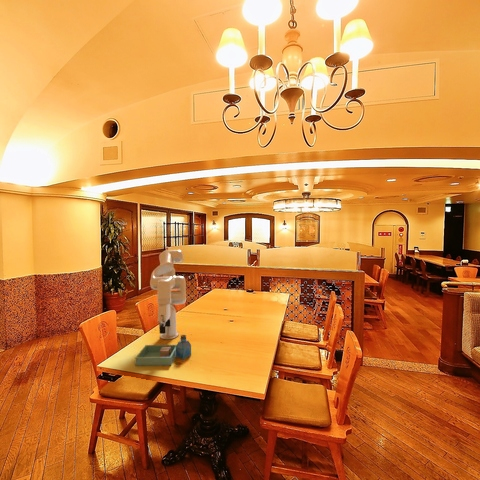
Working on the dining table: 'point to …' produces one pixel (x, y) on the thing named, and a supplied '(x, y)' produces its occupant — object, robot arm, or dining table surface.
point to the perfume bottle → (183, 348)
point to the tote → (155, 356)
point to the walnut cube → (165, 352)
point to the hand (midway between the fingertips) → (165, 329)
